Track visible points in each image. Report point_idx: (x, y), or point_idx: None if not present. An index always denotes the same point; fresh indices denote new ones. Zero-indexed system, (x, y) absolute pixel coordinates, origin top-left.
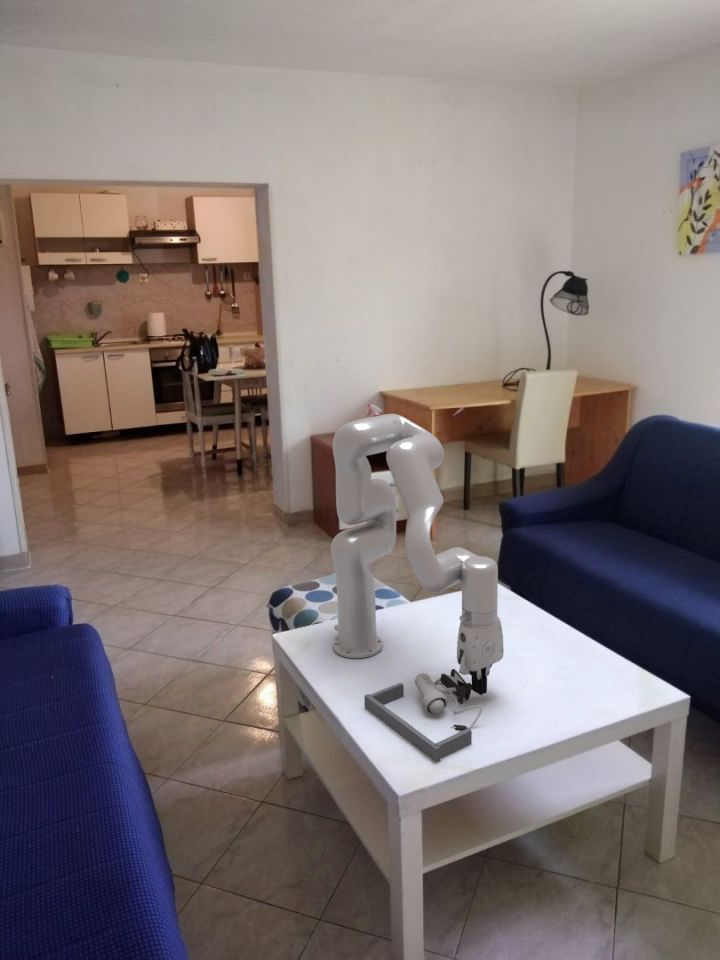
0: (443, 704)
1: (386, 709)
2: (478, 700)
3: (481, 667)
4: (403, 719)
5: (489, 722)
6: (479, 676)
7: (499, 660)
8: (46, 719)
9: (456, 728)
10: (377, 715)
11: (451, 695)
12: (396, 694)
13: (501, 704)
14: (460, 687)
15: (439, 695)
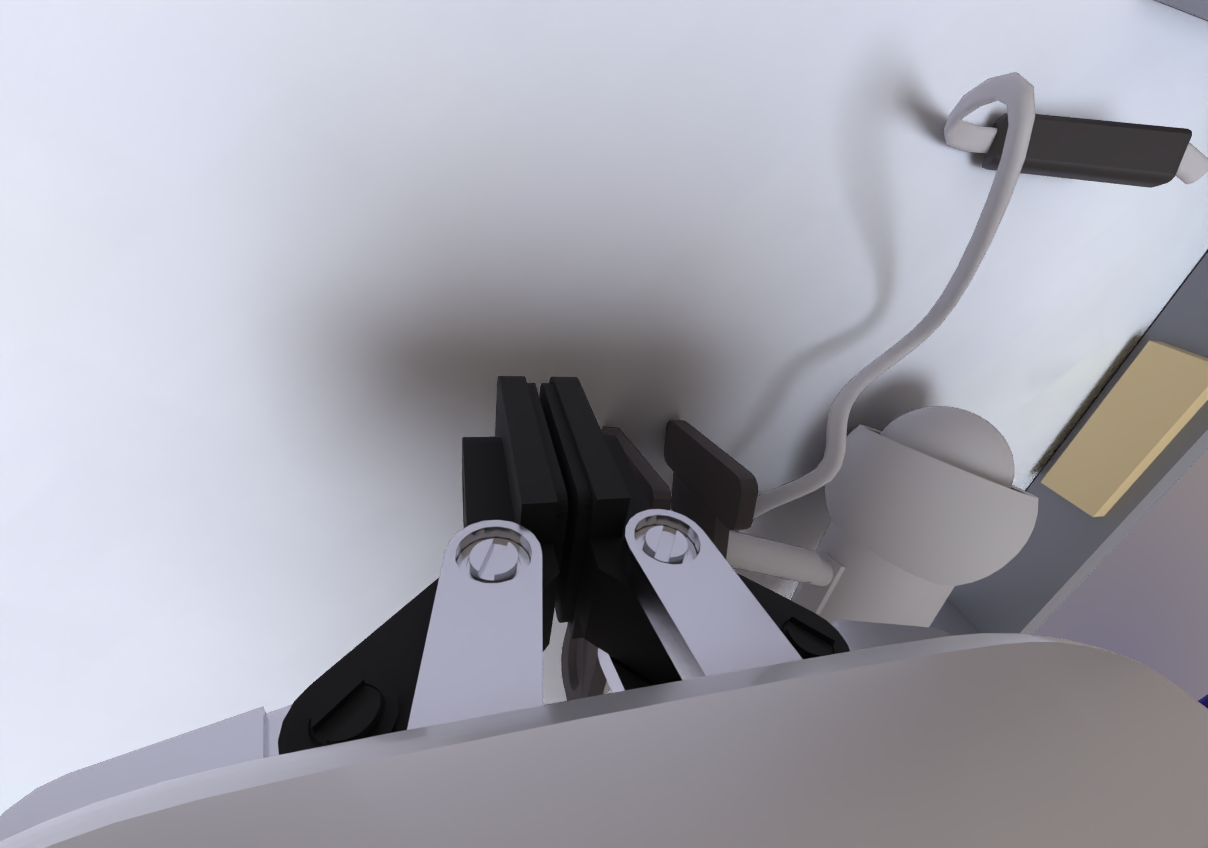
0: (955, 436)
1: (1096, 557)
2: (543, 382)
3: (954, 687)
4: (1149, 454)
5: (785, 41)
6: (659, 546)
7: (123, 832)
8: None
9: (1187, 136)
10: None
11: (805, 493)
12: None
13: (415, 183)
14: (719, 529)
15: (1006, 508)
